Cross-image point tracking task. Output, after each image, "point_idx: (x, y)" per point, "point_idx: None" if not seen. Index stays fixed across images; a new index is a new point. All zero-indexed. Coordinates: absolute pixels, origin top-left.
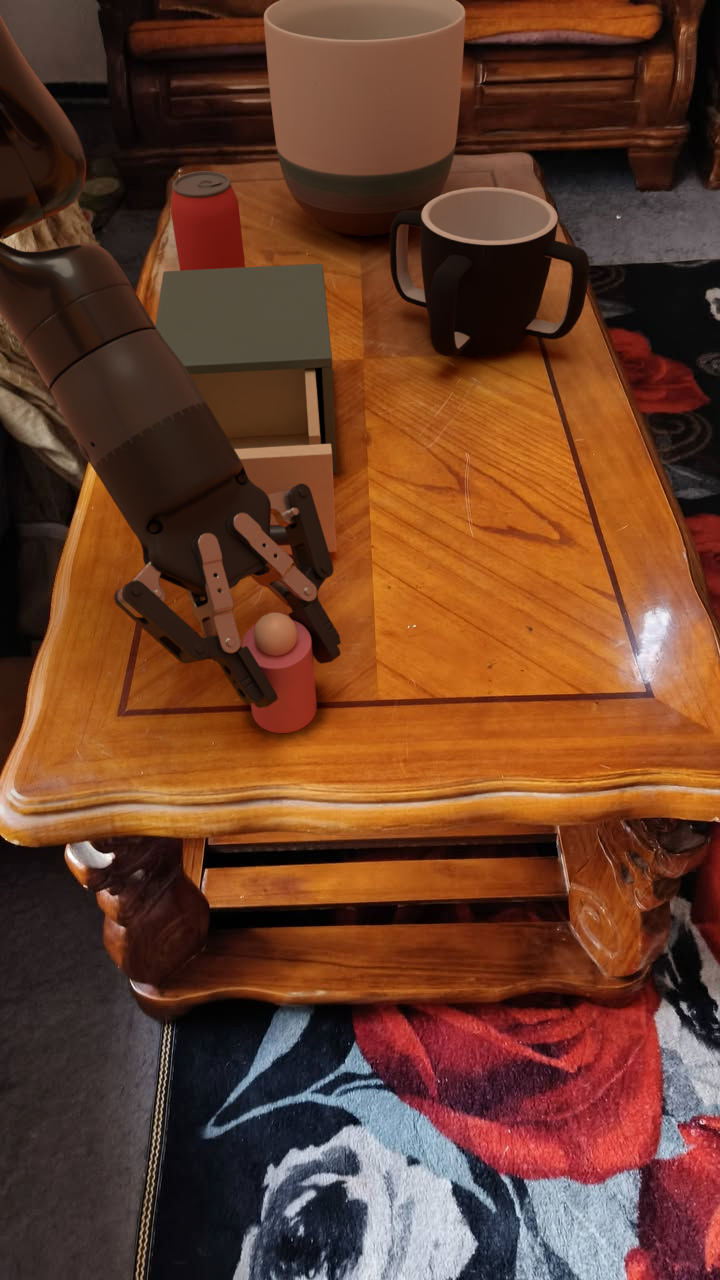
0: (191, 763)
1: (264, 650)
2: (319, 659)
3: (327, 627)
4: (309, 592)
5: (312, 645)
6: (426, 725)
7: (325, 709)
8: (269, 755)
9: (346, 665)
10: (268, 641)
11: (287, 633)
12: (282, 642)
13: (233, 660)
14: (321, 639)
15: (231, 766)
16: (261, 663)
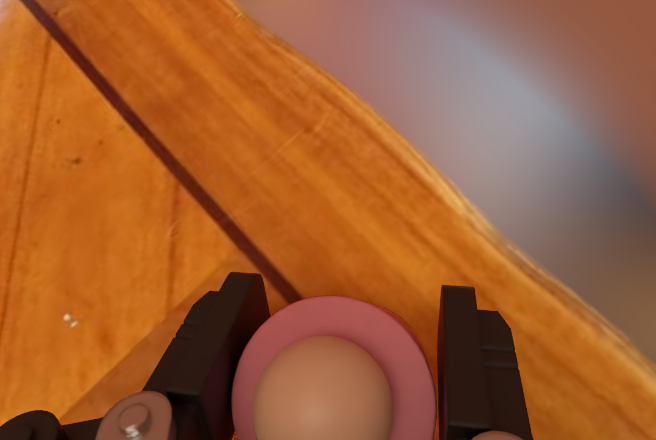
0: (592, 416)
1: (390, 390)
2: None
3: (196, 331)
4: (137, 411)
5: None
6: (231, 152)
7: None
8: None
9: None
10: (375, 384)
11: (314, 351)
12: (344, 348)
13: (509, 427)
14: (240, 309)
15: (533, 345)
16: (419, 374)
